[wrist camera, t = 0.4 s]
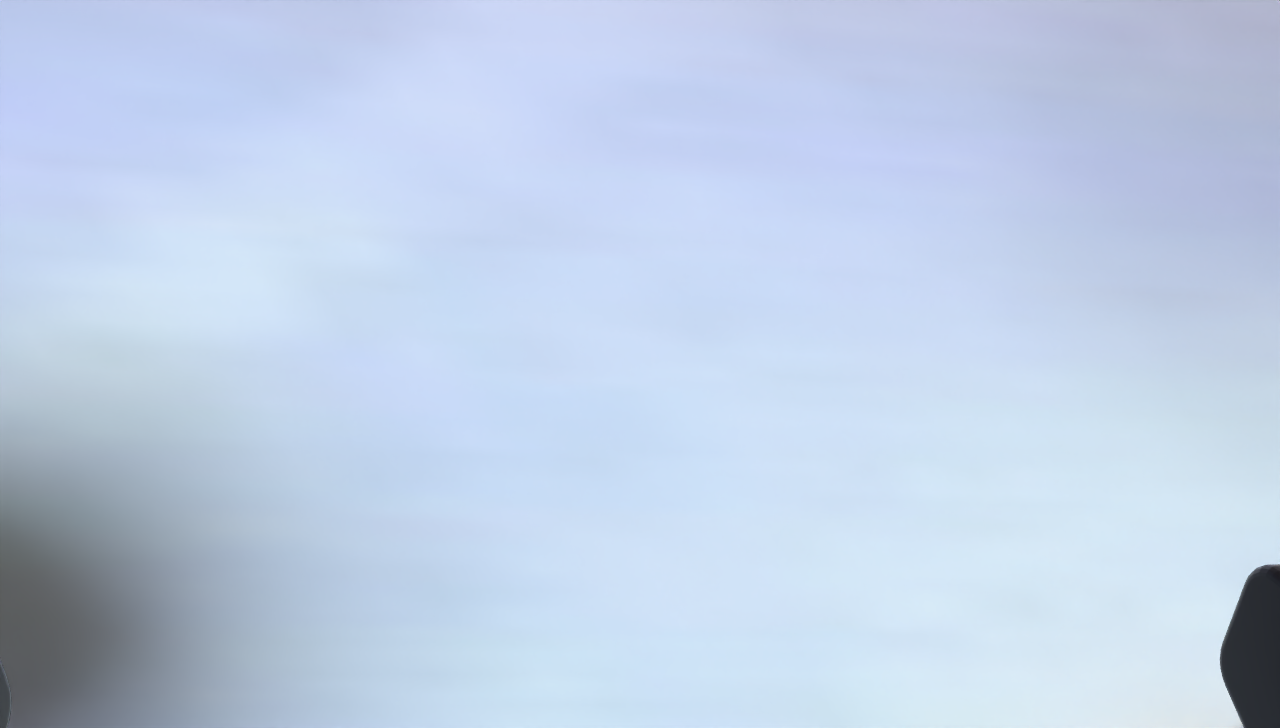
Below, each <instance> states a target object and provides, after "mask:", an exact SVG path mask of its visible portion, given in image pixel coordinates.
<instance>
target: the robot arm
mask: <svg viewBox="0 0 1280 728" xmlns="http://www.w3.org/2000/svg"><path fill="white" fill-rule="evenodd" d="M1220 665H1221V672H1222V676H1223V680H1224V683H1225V686H1226V688H1227V690H1228V693H1229V695H1230V697H1231V699H1232V702H1233V704H1234V706H1235V708H1236V711H1237V713H1238V715H1239V718H1240V720H1241V722H1242V724H1243V727H1244V728H1280V564H1278V565H1264V566H1261V567H1258V568H1256V569H1255V570H1254V571H1253V572H1252V573H1251V574H1250V575H1249V576H1248V578H1247V580H1246V582H1245V585H1244V587H1243V590H1242V593H1241V595H1240V598H1239V601H1238V603H1237V606H1236V609H1235V611H1234V614H1233V617H1232V619H1231V622H1230V625H1229V627H1228V630H1227V633H1226V635H1225V638H1224V641H1223V643H1222V647H1221V654H1220ZM10 712H11V691H10V686H9V683H8V680H7V677H6V674H5V671H4V668H3V665H2V662H1V659H0V728H7V726H8V723H9V718H10Z"/></svg>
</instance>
